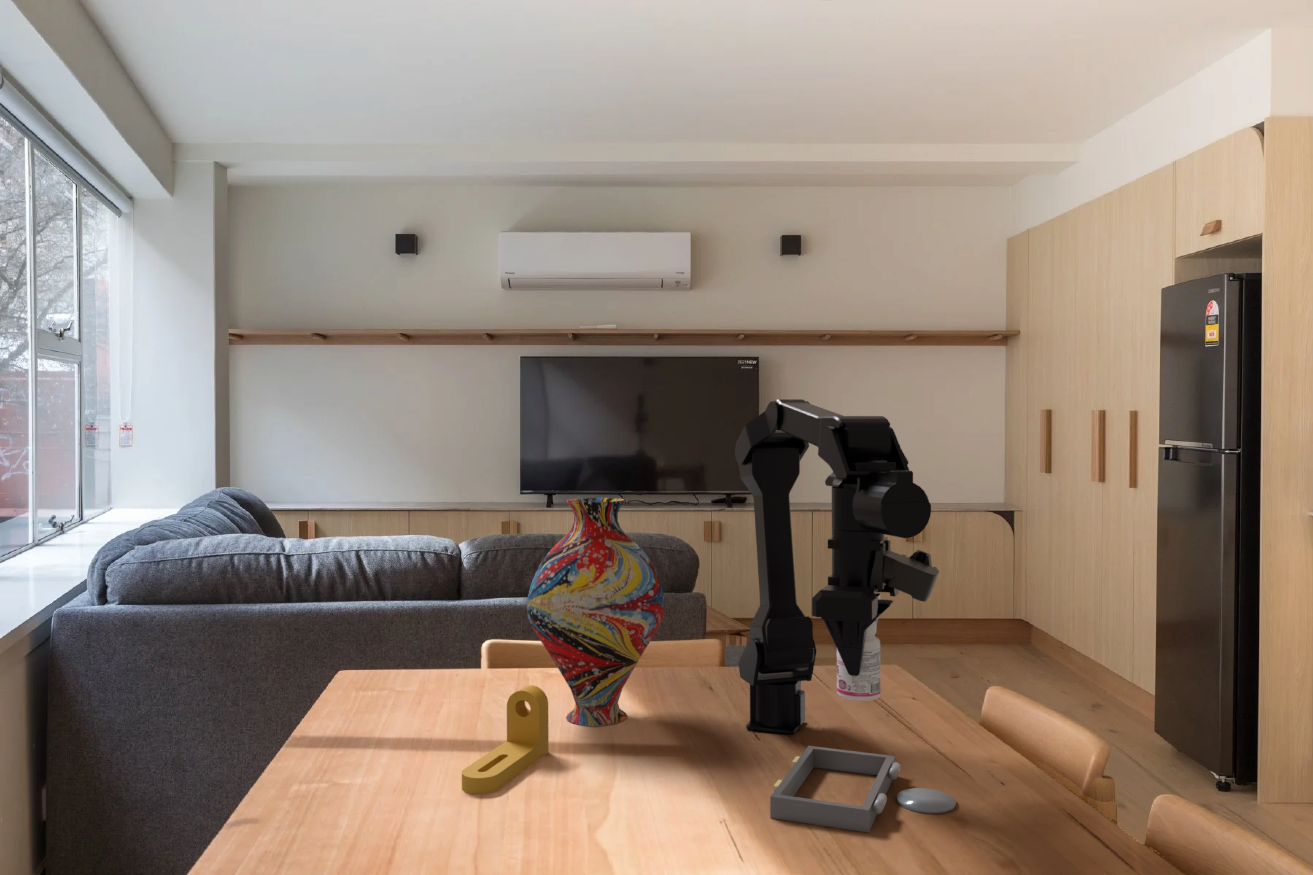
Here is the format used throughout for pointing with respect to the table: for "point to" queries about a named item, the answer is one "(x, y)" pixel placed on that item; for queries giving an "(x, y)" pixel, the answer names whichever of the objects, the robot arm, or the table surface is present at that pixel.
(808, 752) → the gray rectangular frame
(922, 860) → the table surface
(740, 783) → the table surface
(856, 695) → the pill bottle
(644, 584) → the vase
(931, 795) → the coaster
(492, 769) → the bracket
